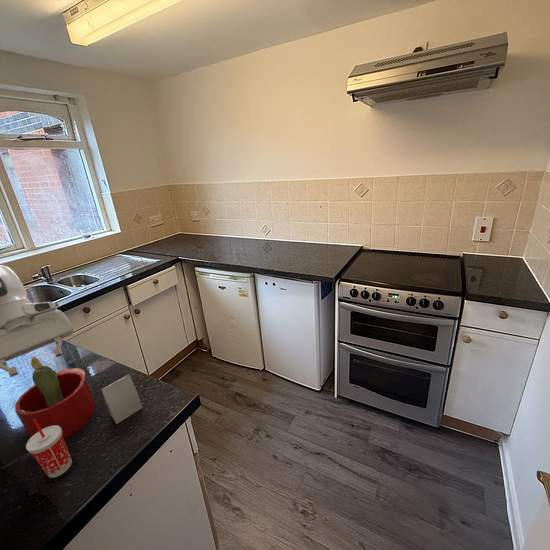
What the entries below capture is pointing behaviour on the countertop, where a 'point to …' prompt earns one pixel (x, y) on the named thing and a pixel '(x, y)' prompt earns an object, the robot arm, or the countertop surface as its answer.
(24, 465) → the countertop surface
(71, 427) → the pot
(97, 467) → the countertop surface
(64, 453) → the beverage cup
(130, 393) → the grey rectangular block
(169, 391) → the countertop surface
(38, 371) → the vegetable
